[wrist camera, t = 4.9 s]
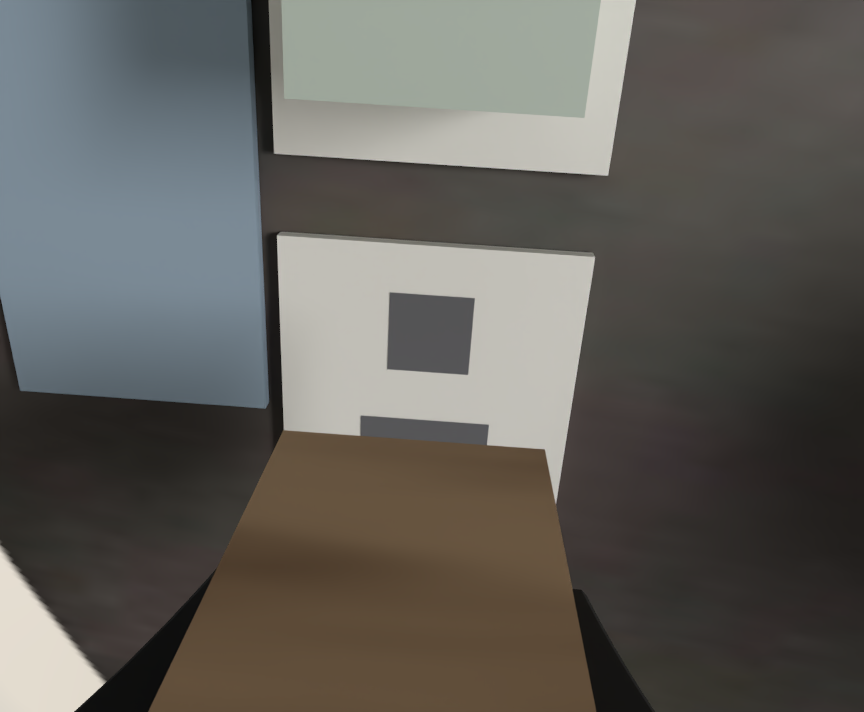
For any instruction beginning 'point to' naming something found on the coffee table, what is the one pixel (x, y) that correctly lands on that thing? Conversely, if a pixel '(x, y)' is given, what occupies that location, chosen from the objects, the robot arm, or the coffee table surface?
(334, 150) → the white flat square
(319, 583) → the walnut block
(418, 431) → the white tile
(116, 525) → the coffee table surface
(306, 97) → the sage green block
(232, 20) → the slate mat
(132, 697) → the robot arm
